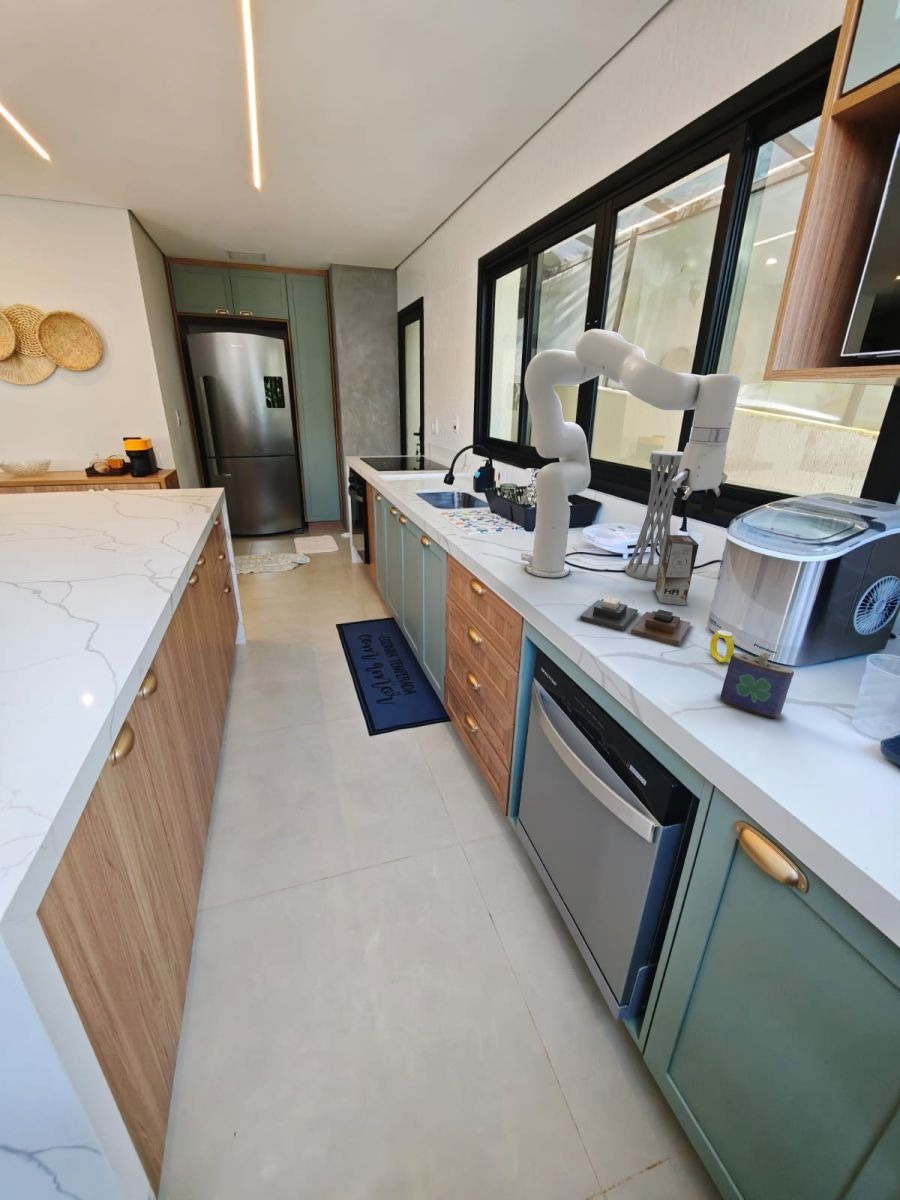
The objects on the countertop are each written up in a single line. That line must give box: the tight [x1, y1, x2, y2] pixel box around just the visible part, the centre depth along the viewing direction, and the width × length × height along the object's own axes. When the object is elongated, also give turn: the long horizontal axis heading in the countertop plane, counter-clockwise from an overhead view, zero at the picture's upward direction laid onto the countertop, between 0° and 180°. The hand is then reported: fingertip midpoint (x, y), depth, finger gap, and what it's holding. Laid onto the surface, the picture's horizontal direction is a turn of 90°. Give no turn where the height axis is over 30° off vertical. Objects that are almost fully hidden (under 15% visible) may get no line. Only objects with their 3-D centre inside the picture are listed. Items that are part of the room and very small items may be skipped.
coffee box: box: [654, 534, 700, 606], centre depth 130 cm, size 9×6×16 cm
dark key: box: [654, 608, 674, 623], centre depth 113 cm, size 3×3×2 cm
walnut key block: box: [630, 610, 692, 647], centre depth 114 cm, size 10×12×3 cm
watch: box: [709, 629, 735, 663], centre depth 101 cm, size 6×3×6 cm, turn 4°
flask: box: [719, 651, 795, 720], centre depth 85 cm, size 9×3×11 cm, turn 51°
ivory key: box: [602, 596, 621, 610], centre depth 119 cm, size 3×3×2 cm
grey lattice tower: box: [624, 450, 684, 582], centre depth 144 cm, size 14×13×35 cm
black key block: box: [579, 598, 639, 632], centre depth 120 cm, size 10×12×3 cm
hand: (692, 514), depth 116 cm, fingers open, 9 cm apart
